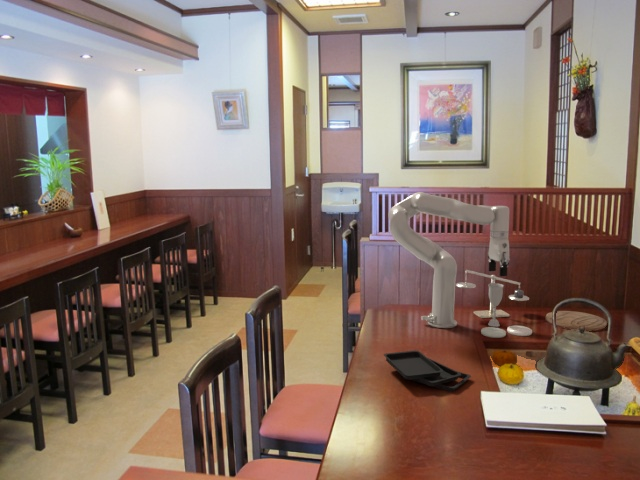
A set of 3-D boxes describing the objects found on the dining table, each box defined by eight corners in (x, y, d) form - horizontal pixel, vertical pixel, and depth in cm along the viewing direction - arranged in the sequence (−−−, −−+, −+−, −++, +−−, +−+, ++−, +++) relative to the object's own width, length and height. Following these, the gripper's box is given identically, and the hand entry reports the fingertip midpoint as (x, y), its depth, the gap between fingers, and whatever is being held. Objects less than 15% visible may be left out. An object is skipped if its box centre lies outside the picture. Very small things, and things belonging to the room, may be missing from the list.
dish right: (514, 336, 233) (514, 333, 233) (502, 329, 243) (502, 326, 242) (536, 335, 235) (536, 332, 235) (523, 327, 244) (524, 325, 244)
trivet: (535, 322, 253) (535, 318, 253) (560, 311, 270) (561, 307, 269) (592, 336, 235) (592, 331, 235) (615, 323, 251) (616, 319, 251)
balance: (459, 319, 255) (461, 272, 252) (451, 314, 264) (453, 268, 260) (531, 315, 262) (534, 269, 258) (521, 310, 271) (524, 265, 267)
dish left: (487, 338, 231) (488, 335, 231) (476, 330, 240) (477, 327, 240) (510, 336, 233) (510, 334, 232) (498, 329, 242) (498, 326, 242)
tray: (474, 375, 194) (475, 360, 193) (456, 401, 174) (457, 385, 173) (393, 359, 209) (394, 346, 208) (367, 382, 189) (368, 367, 188)
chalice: (502, 327, 244) (505, 287, 241) (486, 326, 245) (488, 286, 242) (500, 322, 251) (503, 283, 248) (485, 321, 252) (487, 282, 249)
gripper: (517, 237, 234) (515, 277, 237) (497, 231, 251) (495, 268, 253) (501, 238, 232) (499, 278, 235) (481, 232, 249) (480, 269, 252)
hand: (497, 273), depth 244 cm, fingers open, 9 cm apart
